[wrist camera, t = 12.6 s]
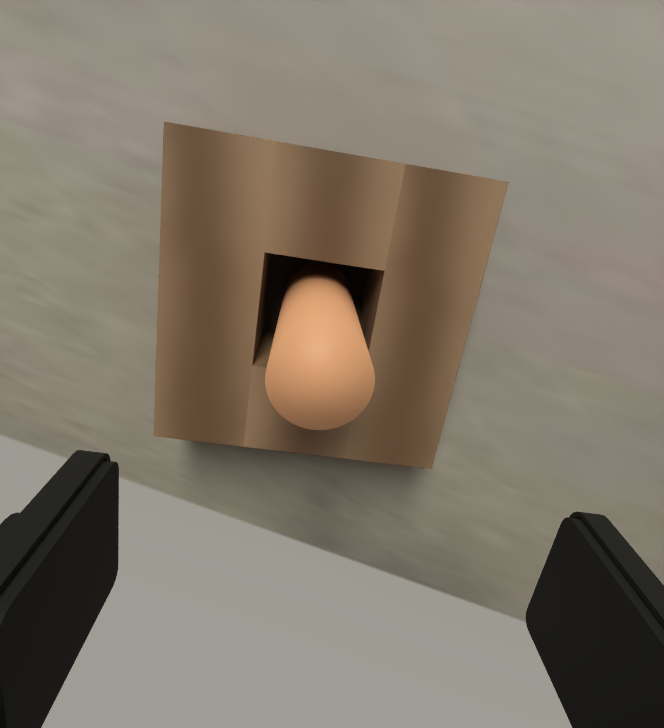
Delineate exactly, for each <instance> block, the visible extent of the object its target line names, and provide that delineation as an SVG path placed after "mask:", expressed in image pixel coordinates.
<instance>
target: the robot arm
mask: <svg viewBox="0 0 664 728" xmlns="http://www.w3.org/2000/svg"><path fill="white" fill-rule="evenodd" d="M118 489H119V467H118V463H117V462H111V461H110V456H109V455H108V454H107V453H99V452H91V451H83V450H78V451H76V452H75V453H74V454H73V455H72V456H71V457H70V458H69V459H68V460H67V461H66V463H65V464H64V465H63V466H62V467H61V468H60V469H59V470H58V471H57V473H56V474H55V475H54V476H53V477H52V478H51V479H50V480H49V482H48V483H47V484H46V485H45V486H44V487H43V488H42V490H40V492H39V493H38V494H37V495H36V496H35V497H34V498H33V499H32V500H31V502H30V503H29V504H28V505H27V506H26V507H25V508H24V510H22V512H21V513H14V514H12V515H10V516H9V517H8V518H6V519H5V520H4V521H3V522H2V523H1V525H0V728H41V727H42V725H43V723H44V721H45V719H46V717H47V715H48V713H49V711H50V709H51V707H52V705H53V703H54V701H55V699H56V697H57V695H58V693H59V691H60V689H61V687H62V685H63V683H64V681H65V679H66V677H67V675H68V674H69V672H70V669H71V668H72V666H73V664H74V662H75V660H76V658H77V656H78V654H79V652H80V650H81V648H82V646H83V644H84V642H85V640H86V638H87V636H88V634H89V632H90V630H91V628H92V626H93V624H94V623H95V621H96V619H97V616H98V615H99V613H100V611H101V609H102V607H103V605H104V603H105V601H106V599H107V597H108V595H109V593H110V591H111V589H112V587H113V585H114V582H115V579H116V576H117V571H118V502H119V501H118V499H119V496H118V495H119V490H118ZM526 624H527V628H528V630H529V633H530V635H531V637H532V640H533V642H534V644H535V646H536V648H537V650H538V653H539V655H540V657H541V659H542V662H543V664H544V666H545V668H546V670H547V673H548V675H549V677H550V679H551V681H552V683H553V686H554V688H555V690H556V692H557V695H558V697H559V699H560V701H561V703H562V705H563V708H564V710H565V712H566V714H567V716H568V719H569V721H570V723H571V725H572V728H664V585H663V584H662V583H661V582H660V581H659V579H658V578H657V577H656V576H655V575H654V573H653V572H652V571H651V570H650V569H649V567H648V566H647V565H646V564H645V563H644V561H643V560H642V559H641V558H640V557H639V555H638V554H637V553H636V552H635V551H634V549H633V548H632V547H631V546H630V545H629V543H628V542H627V541H626V540H625V539H624V537H623V536H622V535H621V534H620V533H619V531H618V530H617V529H616V528H615V527H614V525H613V524H612V523H611V522H610V521H609V519H607V518H606V517H605V516H603V515H600V514H592V513H584V512H574V513H572V514H571V515H570V517H569V518H565V519H564V520H563V521H562V523H561V525H560V528H559V530H558V533H557V535H556V538H555V540H554V543H553V545H552V548H551V550H550V553H549V555H548V558H547V560H546V563H545V565H544V568H543V570H542V573H541V575H540V578H539V580H538V583H537V585H536V588H535V590H534V593H533V596H532V598H531V601H530V603H529V606H528V608H527V611H526Z"/></svg>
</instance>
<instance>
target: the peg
mask: <svg viewBox="0 0 664 728" xmlns="http://www.w3.org/2000/svg"><path fill="white" fill-rule="evenodd" d="M374 385H375V373H374V368H373V364H372V361H371V358H370V355H369V351H368V348H367V345H366V342H365V338H364V335H363V332H362V329H361V325H360V322H359V319H358V316H357V313H356V309H355V306H354V303H353V300H352V296H351V293H350V290H349V287H348V283H347V281H346V278H345V277H344V275H343V274H342V273H341V271H339V270H338V269H337V268H336V267H334V266H333V265H331V264H328V263H325V262H309V263H306V264H304V265H302V266H300V267H299V268H297V269H296V270H295V271H294V272H293V273H292V275H291V276H290V278H289V280H288V282H287V285H286V289H285V293H284V297H283V302H282V306H281V310H280V314H279V318H278V322H277V326H276V331H275V335H274V339H273V343H272V347H271V351H270V356H269V360H268V364H267V368H266V373H265V387H266V391H267V395H268V398H269V400H270V402H271V404H272V405H273V407H274V408H275V410H276V411H277V412H278V413H279V414H280V415H281V416H282V417H283V418H285V419H286V420H287V421H289V422H291V423H292V424H294V425H297V426H299V427H302V428H305V429H311V430H328V429H334V428H337V427H340V426H343V425H345V424H347V423H349V422H350V421H352V420H353V419H355V418H356V417H357V416H358V415H359V414H360V413H362V411H363V410H364V409H365V408H366V406H367V405H368V403H369V401H370V399H371V397H372V394H373V391H374Z"/></svg>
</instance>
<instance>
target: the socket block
mask: <svg viewBox="0 0 664 728" xmlns="http://www.w3.org/2000/svg"><path fill="white" fill-rule="evenodd" d="M508 183H509V182H505V181H500V180H494V179H488V178H482V177H477V176H471V175H465V174H460V173H454V172H448V171H442V170H437V169H431V168H425V167H420V166H414V165H408V164H402V163H397V162H391V161H385V160H380V159H374V158H368V157H363V156H357V155H351V154H345V153H340V152H334V151H328V150H323V149H317V148H311V147H305V146H300V145H294V144H288V143H283V142H277V141H271V140H265V139H260V138H254V137H248V136H243V135H237V134H231V133H226V132H220V131H214V130H208V129H203V128H197V127H191V126H186V125H180V124H174V123H168V122H164V136H163V166H162V197H161V227H160V258H159V288H158V319H157V349H156V380H155V410H154V436H157V437H165V438H174V439H182V440H191V441H199V442H208V443H216V444H225V445H233V446H242V447H250V448H258V449H267V450H275V451H284V452H292V453H301V454H309V455H318V456H326V457H335V458H343V459H351V460H360V461H368V462H377V463H385V464H394V465H402V466H411V467H419V468H428V469H431V468H432V464H433V461H434V457H435V453H436V450H437V446H438V442H439V438H440V435H441V431H442V427H443V424H444V420H445V416H446V413H447V409H448V405H449V402H450V398H451V394H452V390H453V387H454V383H455V379H456V376H457V372H458V368H459V365H460V361H461V357H462V353H463V350H464V346H465V342H466V339H467V335H468V331H469V328H470V324H471V320H472V316H473V313H474V309H475V305H476V302H477V298H478V294H479V291H480V287H481V283H482V279H483V276H484V272H485V268H486V265H487V261H488V257H489V254H490V250H491V246H492V242H493V239H494V235H495V231H496V228H497V224H498V220H499V217H500V213H501V209H502V205H503V202H504V198H505V194H506V191H507V187H508ZM272 254H278V255H285V256H291V257H298V258H304V259H311V260H317V261H324V262H330V263H337V264H343V265H350V266H356V267H363V268H368V274H367V279H366V284H365V290H364V295H363V301H362V306H361V311H360V317H359V322H360V325H361V329H362V332H363V335H364V338H365V342H366V345H367V348H368V351H369V355H370V358H371V361H372V364H373V368H374V373H375V385H374V391H373V394H372V397H371V399H370V401H369V403H368V405H367V406H366V408H365V409H364V410H363V411H362V413H360V414H359V415H358V416H357V417H356V418H355V419H353V420H352V421H350V422H349V423H347V424H345V425H343V426H340V427H337V428H334V429H328V430H311V429H305V428H302V427H299V426H297V425H294V424H292V423H291V422H289V421H287V420H286V419H285V418H283V417H282V416H281V415H280V414H279V413H278V412H277V411H276V410H275V408H274V407H273V405H272V404H271V402H270V400H269V398H268V395H267V391H266V387H265V373H266V368H267V364H268V360H269V356H270V351H271V347H272V343H273V339H274V335H275V333H270V332H263V328H264V319H265V310H266V301H267V292H268V284H269V275H270V266H271V257H272Z"/></svg>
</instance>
